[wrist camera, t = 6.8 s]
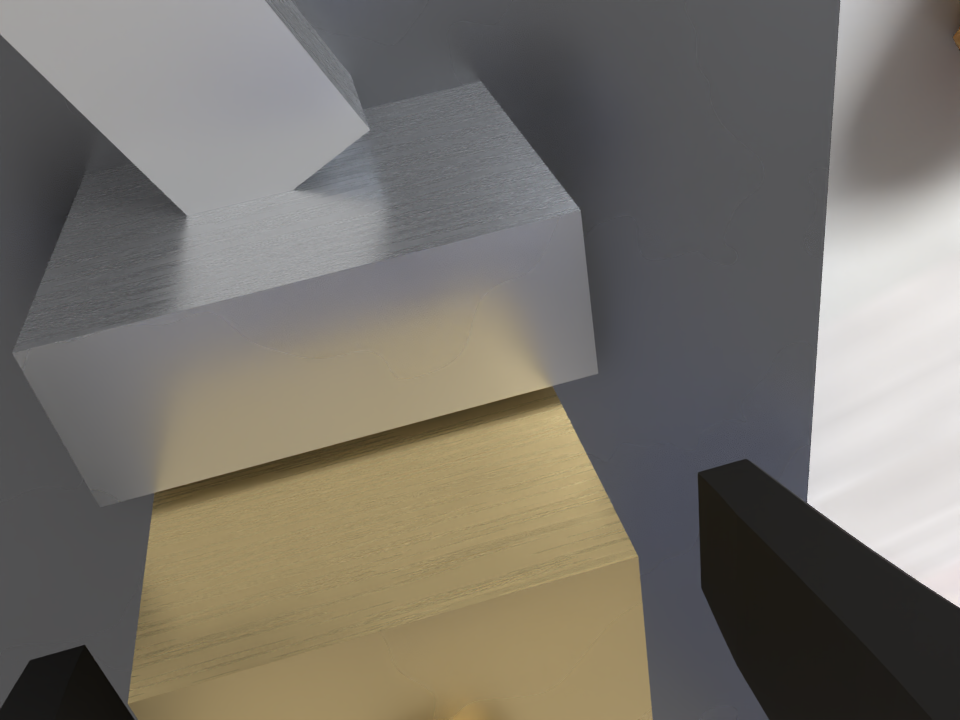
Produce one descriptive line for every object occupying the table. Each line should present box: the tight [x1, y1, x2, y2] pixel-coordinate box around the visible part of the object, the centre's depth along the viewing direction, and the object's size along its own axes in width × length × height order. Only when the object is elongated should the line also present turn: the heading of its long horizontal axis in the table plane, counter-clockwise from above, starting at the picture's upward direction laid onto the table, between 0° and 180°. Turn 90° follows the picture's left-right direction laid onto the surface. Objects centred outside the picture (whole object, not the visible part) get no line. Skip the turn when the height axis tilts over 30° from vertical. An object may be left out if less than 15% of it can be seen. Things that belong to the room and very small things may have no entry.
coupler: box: [128, 386, 653, 720], centre depth 10 cm, size 6×4×6 cm, turn 10°
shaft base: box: [0, 0, 840, 720], centre depth 11 cm, size 21×17×4 cm
